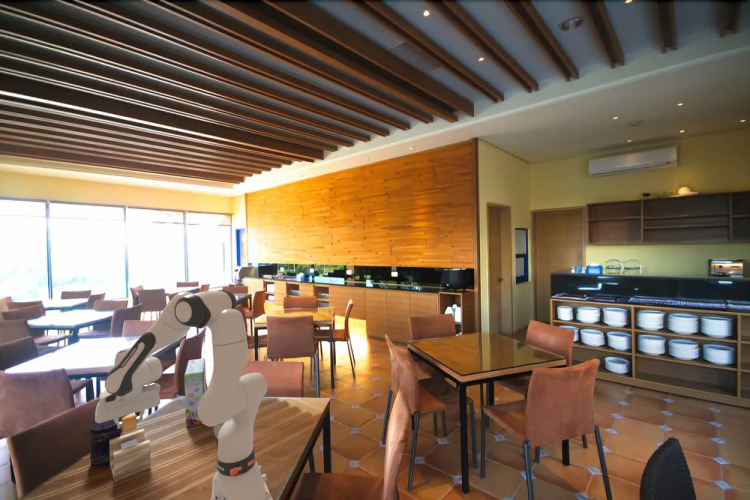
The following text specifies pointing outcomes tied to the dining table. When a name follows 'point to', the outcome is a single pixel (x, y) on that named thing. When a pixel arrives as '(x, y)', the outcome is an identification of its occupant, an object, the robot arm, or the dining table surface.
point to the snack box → (194, 389)
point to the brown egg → (129, 423)
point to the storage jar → (102, 442)
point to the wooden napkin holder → (129, 454)
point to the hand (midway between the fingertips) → (129, 424)
